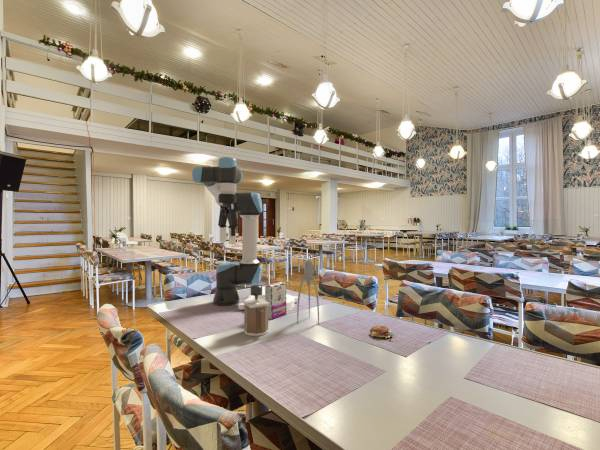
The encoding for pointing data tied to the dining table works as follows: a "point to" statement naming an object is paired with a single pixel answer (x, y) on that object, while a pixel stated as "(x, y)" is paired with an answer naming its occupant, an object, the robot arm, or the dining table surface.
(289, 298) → the white circle with bar
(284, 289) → the candy bar box
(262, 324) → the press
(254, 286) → the dark knobbed rod
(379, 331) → the hamburger
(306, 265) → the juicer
